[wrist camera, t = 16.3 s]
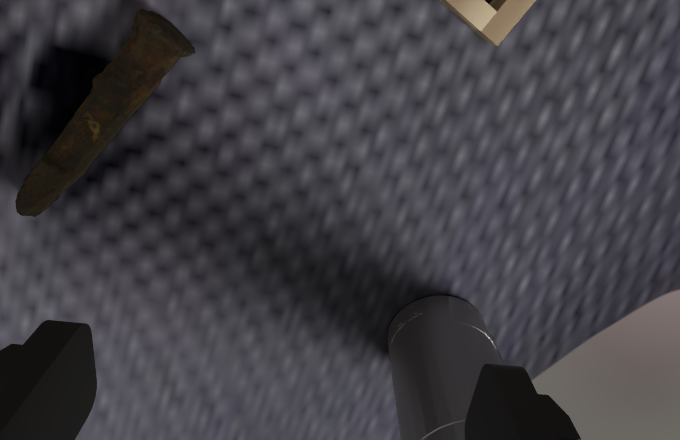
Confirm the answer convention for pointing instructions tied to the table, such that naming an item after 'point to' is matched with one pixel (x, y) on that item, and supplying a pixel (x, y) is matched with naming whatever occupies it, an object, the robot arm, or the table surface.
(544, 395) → the robot arm
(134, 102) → the hand tool
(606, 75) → the table surface
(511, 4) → the holder
